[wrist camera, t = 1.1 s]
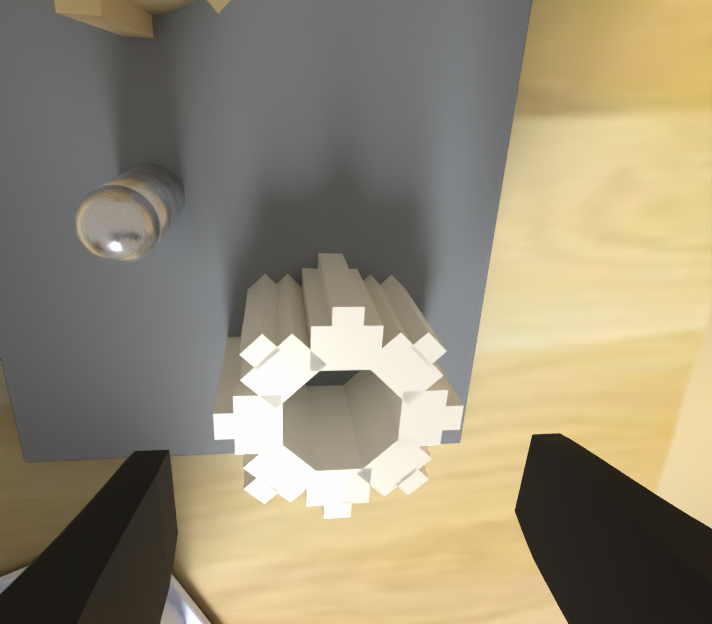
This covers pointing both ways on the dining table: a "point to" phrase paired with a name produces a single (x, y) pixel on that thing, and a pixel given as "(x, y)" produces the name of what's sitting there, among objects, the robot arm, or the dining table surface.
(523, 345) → the dining table surface
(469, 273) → the gear board
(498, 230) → the dining table surface
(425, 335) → the gear
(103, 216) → the steel peg
